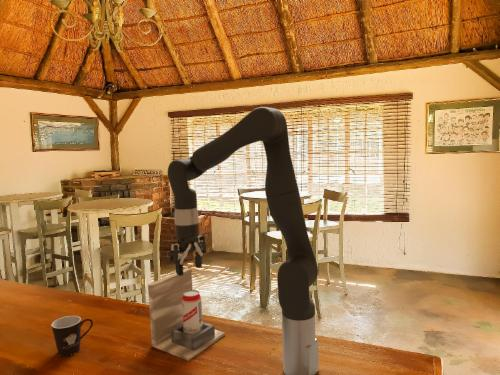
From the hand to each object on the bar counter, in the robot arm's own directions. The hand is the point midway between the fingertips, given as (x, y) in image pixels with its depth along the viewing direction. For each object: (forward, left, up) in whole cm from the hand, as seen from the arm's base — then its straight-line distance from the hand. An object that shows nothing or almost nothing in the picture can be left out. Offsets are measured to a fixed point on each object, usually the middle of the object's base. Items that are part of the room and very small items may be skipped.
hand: (189, 271), depth 126 cm
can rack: (+2, 0, -24) cm, 24 cm away
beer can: (0, 0, -24) cm, 24 cm away
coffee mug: (+30, +24, -25) cm, 46 cm away
